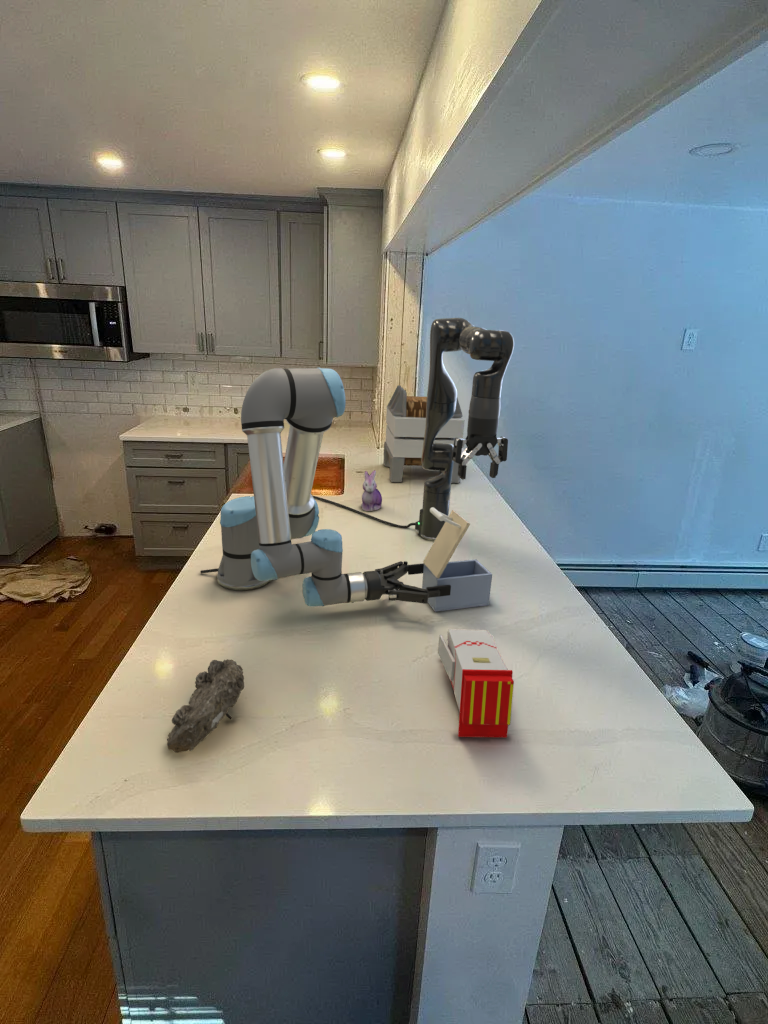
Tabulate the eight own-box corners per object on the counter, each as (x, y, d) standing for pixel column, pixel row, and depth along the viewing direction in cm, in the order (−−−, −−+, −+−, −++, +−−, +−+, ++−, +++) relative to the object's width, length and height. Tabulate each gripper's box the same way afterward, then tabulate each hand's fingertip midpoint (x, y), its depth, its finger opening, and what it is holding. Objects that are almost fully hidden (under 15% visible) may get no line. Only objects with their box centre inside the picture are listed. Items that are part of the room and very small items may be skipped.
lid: (454, 510, 152) (431, 499, 149) (470, 523, 143) (446, 512, 140) (425, 563, 155) (401, 553, 152) (438, 578, 146) (414, 568, 143)
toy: (488, 613, 130) (523, 677, 101) (484, 667, 133) (517, 744, 104) (435, 612, 130) (455, 676, 101) (432, 666, 133) (451, 743, 103)
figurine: (366, 513, 218) (367, 475, 213) (355, 505, 226) (356, 468, 221) (387, 510, 222) (389, 473, 217) (376, 502, 231) (377, 466, 226)
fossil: (192, 660, 117) (244, 628, 112) (224, 691, 120) (276, 661, 115) (142, 746, 98) (202, 712, 93) (182, 779, 101) (242, 748, 96)
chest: (473, 588, 163) (476, 559, 160) (488, 605, 154) (492, 574, 151) (421, 594, 158) (423, 564, 155) (434, 611, 149) (437, 579, 146)
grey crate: (382, 463, 289) (386, 382, 275) (445, 464, 293) (451, 384, 279) (390, 482, 257) (394, 392, 243) (460, 483, 261) (468, 394, 247)
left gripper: (351, 578, 158) (422, 571, 165) (377, 623, 136) (457, 613, 142) (352, 553, 156) (423, 547, 162) (378, 596, 134) (460, 586, 140)
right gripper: (464, 418, 134) (458, 483, 140) (517, 417, 138) (509, 480, 144) (451, 412, 141) (446, 475, 146) (502, 411, 145) (495, 472, 151)
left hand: (440, 578), depth 152 cm, fingers open, 13 cm apart
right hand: (477, 477), depth 145 cm, fingers open, 8 cm apart
